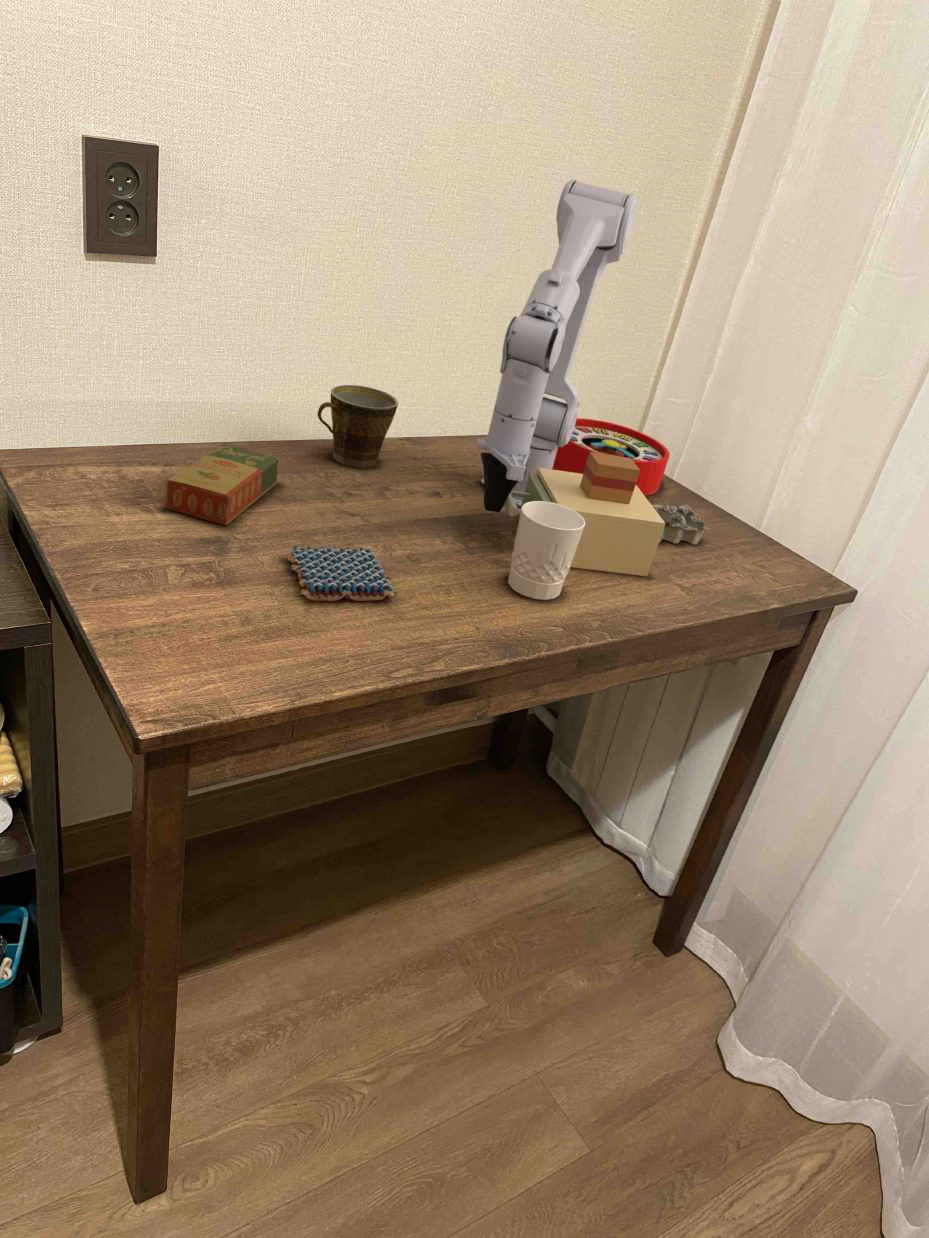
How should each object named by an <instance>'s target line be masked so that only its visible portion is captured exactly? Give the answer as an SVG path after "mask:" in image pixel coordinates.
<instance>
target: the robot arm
mask: <svg viewBox="0 0 929 1238" xmlns="http://www.w3.org/2000/svg"><path fill="white" fill-rule="evenodd" d="M637 210H638V199H637V197H636V194H634V193H624V192H621V191H617V190H613V189H609V188H605V187H601V186H597V185H593V184H589V183H585V182H582V181H578V180H577V179H574V178H571V179H569V181H567V182H566V183H565V184H564V186H563V188H562V191H561V192H560V196H559V200H558V204H557V208H556V216H555V217H556V218H555V220H556V230H557V238H558V248H557V251H556V254H555V257H554V260H553V263H552V266H551V268H548V269H546V270H543V271H541V272H540V273H539V275H538V276H537V279H536V281H535V283H534V285H533V286H532V289H531V291H530V294H529V296H528V298H527V300H526V302H525V303H524V306H523V308H522V311H521V313H520V315H518V316H517V315H513V317H511V319H510V321H509V323H508V325H507V328H506V331H505V333H504V334H505V335H504V338H503V345H502V353H501V355H502V356H501V362H500V368H499V373H500V374H501V377H500V382H499V386H498V390H497V394H496V399H495V403H494V407H493V411H492V414H491V415H492V416H491V419H490V424H489V427H488V432H487V436H486V437H485V438H477V440H476V445H477V448H479V449H481V450H485V451H487V452H481V453H480V458H481V463H482V468H483V478H481V480H480V483H481V484H482V485H483V507H484V510H485V511H487V512H495V513H500V512H501V511H502V509H503V507H505V505H504V503H505V501H506V500H507V498H508V496H509V494H510V492H511V491H517V492H525V488H526V484H527V480H528V476H529V474H534V475H536V473H537V469H538V468H545V469H552V470H553V464H554V460H555V457H556V453H557V449H558V447H559V446H560V447H563V446H564V445H566V444H567V443H568V442H569V440H570V438H571V435H572V432H573V430H574V426H575V423H576V419H577V418H578V412H579V409H580V405H581V398H580V397H581V396H580V393H579V392H578V391H577V389H576V388H575V386H574V385H573V384H572V383H571V381H570V380H569V377H570V373H571V371H572V368H573V364H574V361H575V357H576V354H577V351H578V348H579V344H580V341H581V338H582V334H583V331H584V328H585V326H586V322H587V318H588V315H589V312H590V309H591V306H592V304H593V303H592V302H593V300H594V296H595V292H596V289H597V287H598V283H599V280H600V278H601V276H602V275H603V272H604V271H605V269H606V267H607V265H609V264H613V263H616V262H619V261H620V260H621V258H622V255H624V253H625V250H626V246H627V243H628V241H629V237H630V235H631V231H632V228H633V225H634V222H635V218H636V214H637ZM544 394H545V395H548V396H551V397H555V398H559V399H562V400H564V401H565V402H562V401H559V400H555V399H552V398H549V397H545V396H544ZM512 498H513V500H514V502H515V504H516V506H517V508H520V507H521V504H522V500H523V498H522V497H515V496H512Z"/></svg>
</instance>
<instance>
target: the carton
mask: <svg viewBox="0 0 929 1238" xmlns="http://www.w3.org/2000/svg"><path fill="white" fill-rule="evenodd" d="M278 467H279V458H278V457H277V456H273V455H269V454H265V453H262V452H258V451H254V450H249V449H246V448H242V447H238V446H235V445H231V444H227V443H222V444H220V445H219V446H218V447H215V448H214V449H212V450H211V451H210V452H208V453H206V454H205V455H203V456H202V457H201V458H199V459H197V460H196V461H194V462H193V463H191V464H189V465H188V466H187V467H185V468H183V469H182V470H179V472H177V473H176V474H173V476H171V477H169V478H167V480H166V486H165V487H166V488H165V506H164V508H165V509H168V510H171V511H174V512H178V513H181V514H185V515H187V516H188V515H189V516H192V517H195V518H198V519H201V520H205V521H209V522H212V523H216V524H220V525H225V526H227V525H228V524H230V523H231V522H232V521H234V519H236V518H237V517H238V516H239V515H240V514H241V513H243V512H244V511H245V510H246V509H248V508H249V507H250V506H251V505H252V504H254V503H255V502H256V501H257V500H258V499H260V498H261V497H262V496H264V495H265V494H266V493H267V492H269V491H271V490H272V489H273V488H274V487H275V486H276V485H277V478H278V470H279V469H278Z"/></svg>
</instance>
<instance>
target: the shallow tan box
mask: <svg viewBox="0 0 929 1238" xmlns="http://www.w3.org/2000/svg"><path fill="white" fill-rule="evenodd" d="M536 475H537V476H538V478H539V479H540V481H541V483H542V485H543V487H544V488H545V489H546V490H547V492H548V494H549V496H550V498H551V500H552V501H553V503H556V504H559V505H562V506H565V507H568V508H570V509H572V510H574V511H576V512H577V513H579V514H580V515H581V516H582V517H583V518H584V520H585V526H584V529H583V532H582V535H581V538H580V541H579V544H578V547H577V549H576V552H575V555H574V558H573V561H572V563H571V566H570V568H575V569H583V570H592V571H598V572H599V571H600V572H606V573H607V572H608V573H614V574H615V573H617V574H622V575H631V576H632V575H633V576H639V577H648V575H649V571H650V569H651V565H652V563H653V560H654V558H655V555H656V551H657V548H658V547H659V540H660V537H661V534H662V531H663V528H664V525H665V522H664V521H663V519H662V518H661V517H660V516H659V514H658V513H657V512H656V510H655V509H654V508H653V506H652V505H653V504H651V502H650V501H649V499H648V498H646V495H643V493H642V492H641V491H640V489H639V488H638V487H637V485H636V486H635V489H634V491H633V494H632V497H631V500H630V503H629V504H625V503H617V502H610V501H603V500H596V499H589V498H588V497H587V496H586V494H585V493H584V491H583V490H582V488H581V486H580V484H581V480H582V477H583V474H579V473H572V472H566V471H559V470H554V469H553V468H552V469H545V468H538V469H537V473H536Z"/></svg>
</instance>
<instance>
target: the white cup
mask: <svg viewBox="0 0 929 1238" xmlns="http://www.w3.org/2000/svg"><path fill="white" fill-rule="evenodd" d="M584 526H585V520H584V518H583V517H582V516H581V515H580V514H579V513H577V512H576V511H574V510H572V509H570V508H568V507H565V506H562V505H559V504H556V503H551V502H545V501H532V502H527V503H525V504H524V505H523V506H522V508H521V513H520V515H519V518H518V523H517V528H516V532H515V536H514V544H513V547H512V553H511V557H510V563H511V564H510V570H509V573H508V579H507V584H508V585H509V586H510V588H511V589H512V590H513V591H515V592H516V593H518V594H520V595H521V596H524V597H527V598H529V599H534V600H540V601H549V600H554V599H556V598H557V597H559V596H560V594H561V592H562V589H563V587H564V583H565V580H566V577H567V575H568V573H569V571H570V569H571V567H570V566H571V563H572V561H573V558H574V555H575V552H576V549H577V547H578V544H579V541H580V538H581V535H582V532H583V529H584Z"/></svg>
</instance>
